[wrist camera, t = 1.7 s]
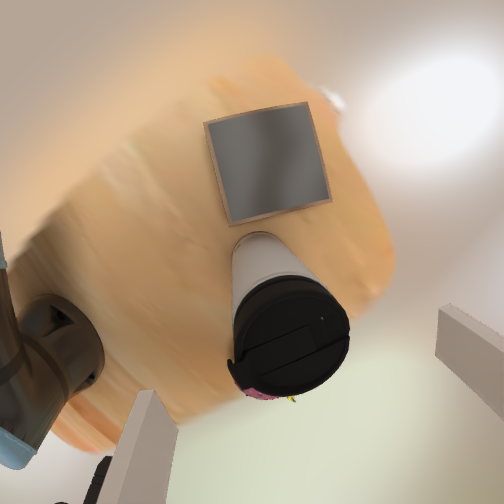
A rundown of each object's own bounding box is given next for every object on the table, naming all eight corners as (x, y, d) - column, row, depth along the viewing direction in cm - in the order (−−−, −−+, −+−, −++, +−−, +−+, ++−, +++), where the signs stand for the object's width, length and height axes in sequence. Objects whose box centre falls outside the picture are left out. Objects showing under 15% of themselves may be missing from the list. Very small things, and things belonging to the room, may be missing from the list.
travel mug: (220, 245, 31) (202, 330, 12) (274, 222, 31) (343, 272, 12) (241, 293, 33) (255, 418, 13) (294, 272, 33) (368, 372, 13)
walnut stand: (229, 220, 31) (229, 227, 25) (207, 134, 29) (202, 121, 23) (315, 199, 31) (334, 201, 25) (294, 116, 29) (308, 100, 23)
